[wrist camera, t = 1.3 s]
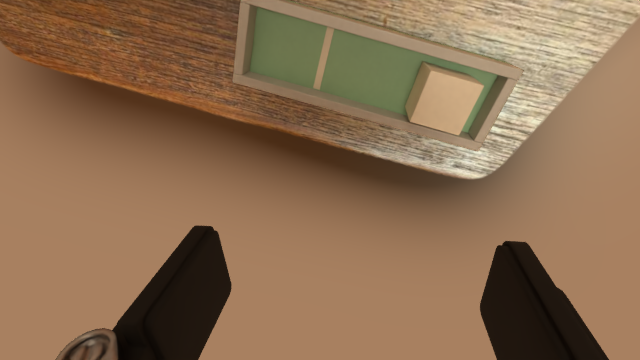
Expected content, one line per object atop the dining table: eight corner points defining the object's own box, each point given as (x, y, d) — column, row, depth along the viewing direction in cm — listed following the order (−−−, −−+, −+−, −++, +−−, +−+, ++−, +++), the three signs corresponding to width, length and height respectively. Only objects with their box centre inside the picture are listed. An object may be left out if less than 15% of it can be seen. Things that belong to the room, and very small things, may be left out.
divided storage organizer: (245, 74, 30) (232, 82, 27) (255, -10, 26) (240, -11, 23) (467, 136, 30) (478, 151, 27) (506, 62, 27) (524, 70, 24)
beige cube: (404, 106, 28) (409, 121, 25) (422, 60, 26) (431, 70, 22) (447, 119, 28) (458, 135, 25) (469, 74, 26) (484, 85, 23)
